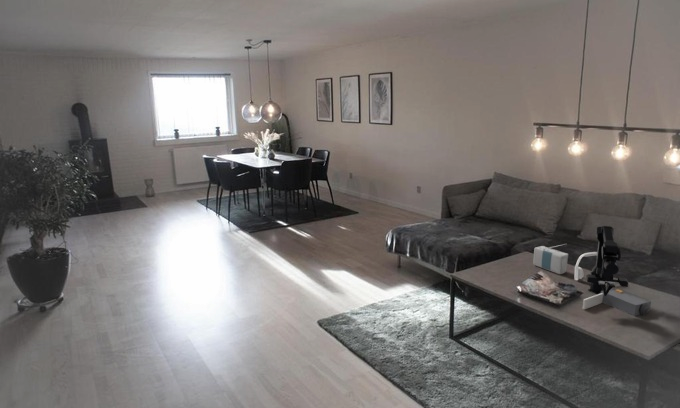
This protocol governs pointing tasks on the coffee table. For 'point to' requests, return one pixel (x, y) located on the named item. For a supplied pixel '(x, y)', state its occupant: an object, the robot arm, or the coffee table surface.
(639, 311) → the grey slab
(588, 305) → the side door
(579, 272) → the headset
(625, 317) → the coffee table surface
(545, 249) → the stereo radio cassette player
